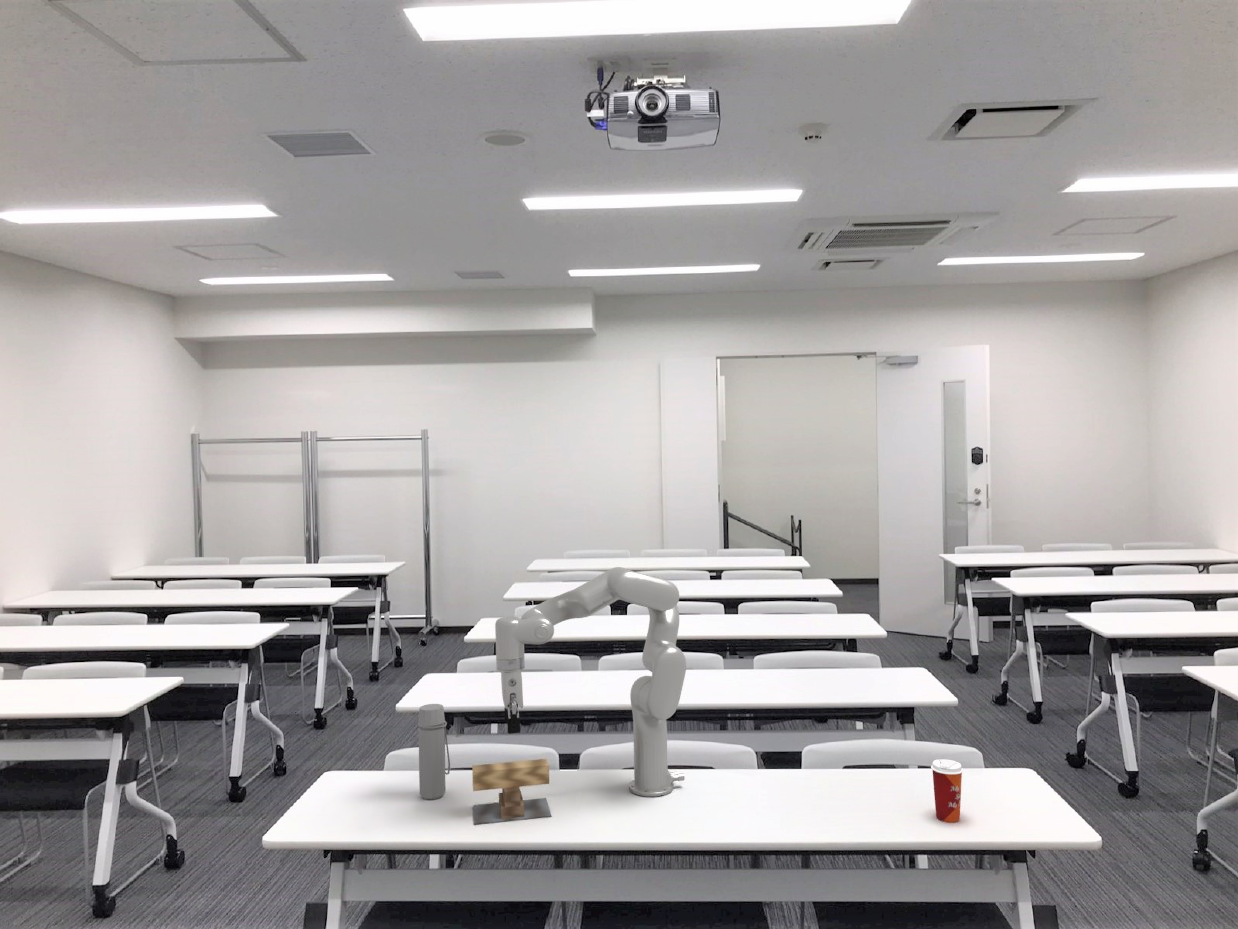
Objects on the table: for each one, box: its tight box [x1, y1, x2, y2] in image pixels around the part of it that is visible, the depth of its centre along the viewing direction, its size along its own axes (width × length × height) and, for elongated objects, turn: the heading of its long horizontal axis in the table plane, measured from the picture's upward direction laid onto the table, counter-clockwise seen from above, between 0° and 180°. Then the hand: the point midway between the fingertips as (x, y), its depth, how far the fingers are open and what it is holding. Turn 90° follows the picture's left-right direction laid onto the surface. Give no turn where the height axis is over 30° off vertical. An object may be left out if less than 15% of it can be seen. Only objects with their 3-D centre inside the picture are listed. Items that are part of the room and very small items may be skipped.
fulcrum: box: [472, 787, 552, 826], centre depth 225 cm, size 20×12×7 cm, turn 102°
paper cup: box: [930, 758, 964, 824], centre depth 216 cm, size 8×8×14 cm
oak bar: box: [472, 758, 550, 792], centre depth 225 cm, size 20×5×5 cm, turn 102°
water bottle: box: [417, 703, 451, 800], centre depth 237 cm, size 9×8×25 cm
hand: (512, 727), depth 226 cm, fingers open, 9 cm apart
